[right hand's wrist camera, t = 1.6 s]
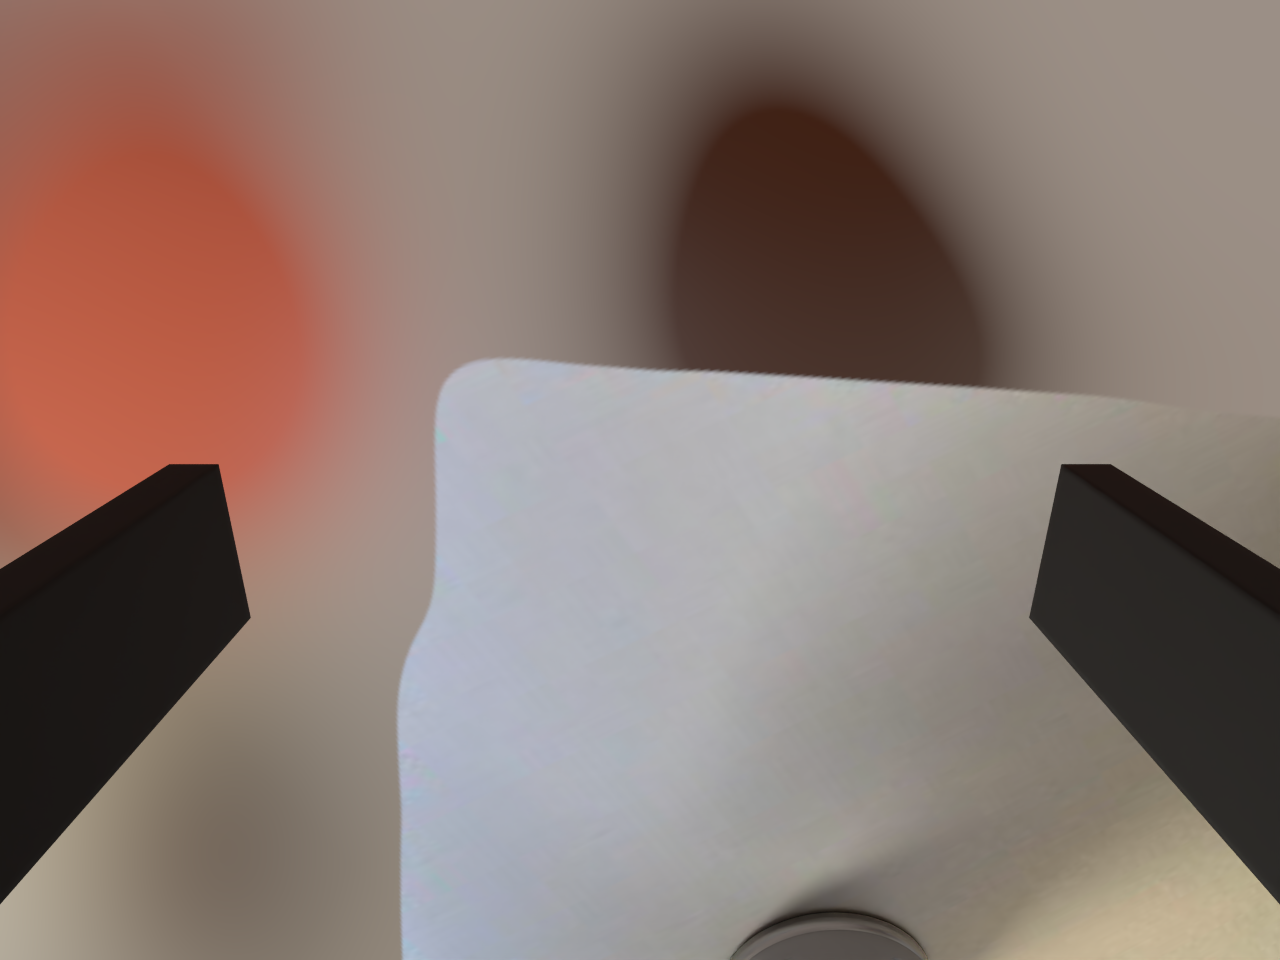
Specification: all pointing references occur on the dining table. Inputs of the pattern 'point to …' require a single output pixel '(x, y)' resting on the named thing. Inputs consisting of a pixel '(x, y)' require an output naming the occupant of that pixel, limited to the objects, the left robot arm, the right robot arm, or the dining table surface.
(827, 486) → the dining table surface
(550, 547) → the dining table surface
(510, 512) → the dining table surface
